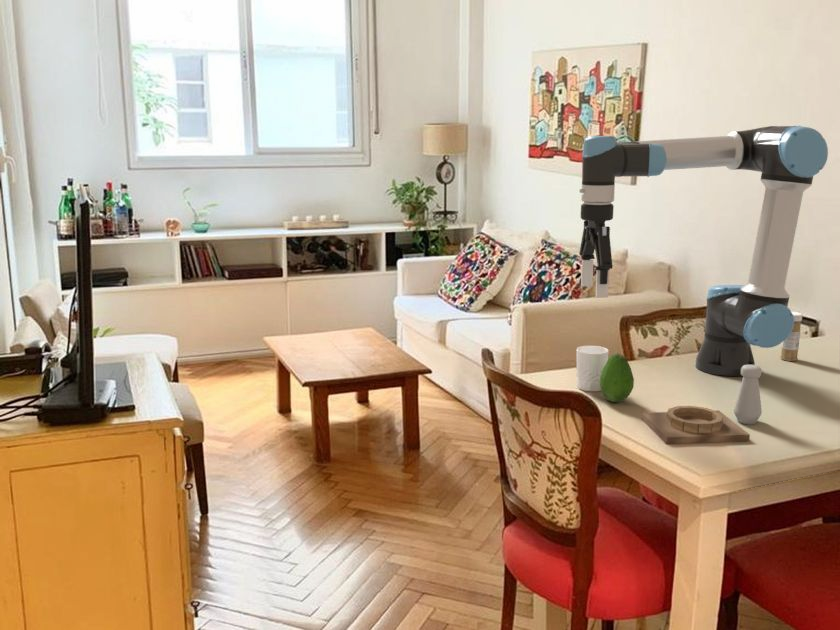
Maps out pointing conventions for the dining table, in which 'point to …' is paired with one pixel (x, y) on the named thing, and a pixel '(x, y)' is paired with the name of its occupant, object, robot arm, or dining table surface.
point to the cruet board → (694, 437)
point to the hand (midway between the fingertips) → (593, 291)
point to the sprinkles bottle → (792, 340)
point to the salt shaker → (749, 396)
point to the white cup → (590, 367)
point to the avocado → (616, 379)
